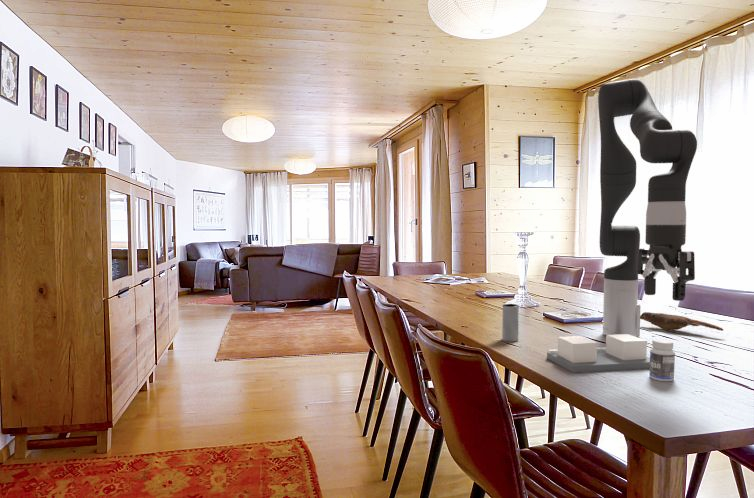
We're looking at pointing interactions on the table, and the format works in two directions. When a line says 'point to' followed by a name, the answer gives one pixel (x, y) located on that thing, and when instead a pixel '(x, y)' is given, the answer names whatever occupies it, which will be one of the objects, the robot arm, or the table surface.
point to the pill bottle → (662, 360)
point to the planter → (510, 322)
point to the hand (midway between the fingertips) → (663, 297)
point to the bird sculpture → (673, 321)
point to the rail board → (600, 354)
